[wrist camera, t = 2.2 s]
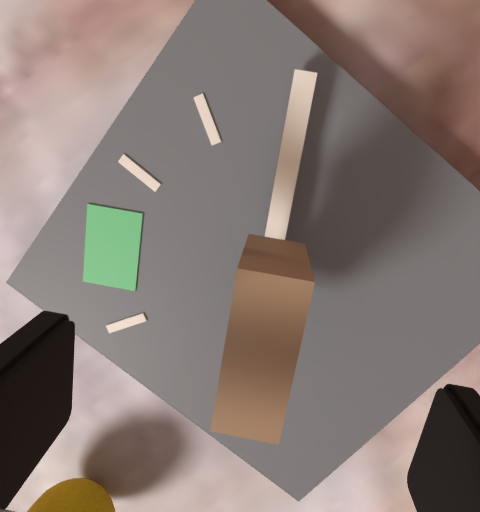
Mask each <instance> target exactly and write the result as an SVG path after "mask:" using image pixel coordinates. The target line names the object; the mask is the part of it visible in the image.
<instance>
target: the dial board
mask: <svg viewBox="0 0 480 512" xmlns="http://www.w3.org/2000/svg"><path fill="white" fill-rule="evenodd" d="M295 69H297V70H303V71H309V72H316V73H317V78H316V83H315V88H314V94H313V99H312V104H311V109H310V114H309V119H308V124H307V129H306V135H305V140H304V145H303V150H302V155H301V160H300V165H299V171H298V176H297V181H296V186H295V191H294V196H293V201H292V207H291V212H290V217H289V222H288V227H287V232H286V237H285V240H287V241H293V242H298V243H304V244H305V246H306V250H307V254H308V258H309V261H310V265H311V269H312V273H313V277H314V281H315V284H314V288H313V293H312V297H311V302H310V306H309V311H308V315H307V320H306V324H305V329H304V333H303V338H302V342H301V347H300V351H299V356H298V360H297V365H296V369H295V374H294V378H293V383H292V387H291V392H290V396H289V401H288V405H287V410H286V414H285V419H284V423H283V428H282V432H281V437H280V441H279V445H277V444H272V443H267V442H262V441H257V440H252V439H247V438H242V437H237V436H232V435H227V434H222V433H217V432H212V431H210V430H211V424H212V418H213V412H214V406H215V400H216V393H217V387H218V381H219V375H220V369H221V363H222V357H223V351H224V345H225V339H226V333H227V327H228V321H229V315H230V309H231V303H232V296H233V290H234V284H235V278H236V272H237V267H238V264H239V261H240V258H241V255H242V252H243V249H244V246H245V243H246V240H247V237H248V234H253V235H259V236H264V237H265V231H266V226H267V220H268V215H269V209H270V203H271V198H272V192H273V187H274V181H275V176H276V170H277V165H278V159H279V153H280V148H281V142H282V137H283V131H284V126H285V120H286V115H287V109H288V104H289V98H290V92H291V87H292V81H293V76H294V71H295ZM6 283H7V284H9V285H10V286H11V287H13V288H14V289H15V290H17V291H18V292H19V293H21V294H22V295H23V296H25V297H26V298H27V299H29V300H30V301H31V302H33V303H34V304H35V305H37V306H38V307H39V308H41V309H42V310H43V311H51V312H56V313H62V314H67V315H68V316H69V321H73V322H74V324H75V334H76V335H77V336H78V337H80V338H81V339H82V340H84V341H85V342H86V343H88V344H89V345H90V346H92V347H93V348H94V349H96V350H97V351H98V352H100V353H101V354H102V355H104V356H105V357H106V358H108V359H109V360H110V361H112V362H113V363H114V364H116V365H117V366H118V367H120V368H121V369H122V370H124V371H125V372H126V373H128V374H129V375H130V376H132V377H133V378H134V379H136V380H137V381H138V382H140V383H141V384H142V385H144V386H145V387H146V388H148V389H149V390H150V391H152V392H153V393H154V394H156V395H157V396H158V397H160V398H161V399H162V400H164V401H165V402H166V403H168V404H169V405H170V406H172V407H173V408H174V409H176V410H177V411H178V412H180V413H181V414H182V415H184V416H185V417H186V418H188V419H189V420H191V421H192V422H193V423H195V424H196V425H197V426H199V427H200V428H201V429H203V430H204V431H205V432H207V433H208V434H209V435H211V436H212V437H213V438H215V439H216V440H217V441H219V442H220V443H221V444H223V445H224V446H225V447H227V448H228V449H229V450H231V451H232V452H233V453H235V454H236V455H237V456H239V457H240V458H241V459H243V460H244V461H245V462H247V463H248V464H249V465H251V466H252V467H253V468H255V469H256V470H257V471H259V472H260V473H261V474H263V475H264V476H265V477H267V478H268V479H269V480H271V481H272V482H273V483H275V484H276V485H277V486H279V487H280V488H281V489H283V490H284V491H285V492H287V493H288V494H289V495H291V496H292V497H293V498H295V499H296V500H297V501H300V500H301V499H302V498H303V497H305V496H306V495H307V494H308V493H309V492H310V491H311V490H313V489H314V488H315V487H316V486H317V485H318V484H319V483H321V482H322V481H323V480H324V479H325V478H326V477H328V476H329V475H330V474H331V473H332V472H333V471H334V470H336V469H337V468H338V467H339V466H340V465H341V464H342V463H344V462H345V461H346V460H347V459H348V458H349V457H350V456H352V455H353V454H354V453H355V452H356V451H357V450H358V449H360V448H361V447H362V446H363V445H364V444H365V443H366V442H368V441H369V440H370V439H371V438H372V437H373V436H375V435H376V434H377V433H378V432H379V431H380V430H381V429H383V428H384V427H385V426H386V425H387V424H388V423H389V422H391V421H392V420H393V419H394V418H395V417H396V416H397V415H399V414H400V413H401V412H402V411H403V410H404V409H405V408H407V407H408V406H409V405H410V404H411V403H412V402H413V401H415V400H416V399H417V398H418V397H419V396H420V395H422V394H423V393H424V392H425V391H426V390H427V389H428V388H430V387H431V386H432V385H433V384H434V383H435V382H436V381H438V380H439V379H440V378H441V377H442V376H443V375H444V374H446V373H447V372H448V371H449V370H450V369H451V368H452V367H454V366H455V365H456V364H457V363H458V362H459V361H460V360H462V359H463V358H464V357H465V356H466V355H467V354H469V353H470V352H471V351H472V350H473V349H474V348H475V347H477V346H478V345H479V344H480V191H479V190H478V189H477V188H476V187H475V186H473V185H472V184H471V183H470V182H469V181H468V180H467V179H466V178H465V177H463V176H462V175H461V174H460V173H459V172H458V171H457V170H456V169H455V168H453V167H452V166H451V165H450V164H449V163H448V162H447V161H446V160H444V159H443V158H442V157H441V156H440V155H439V154H438V153H437V152H436V151H434V150H433V149H432V148H431V147H430V146H429V145H428V144H427V143H426V142H424V141H423V140H422V139H421V138H420V137H419V136H418V135H417V134H415V133H414V132H413V131H412V130H411V129H410V128H409V127H408V126H407V125H405V124H404V123H403V122H402V121H401V120H400V119H399V118H398V117H396V116H395V115H394V114H393V113H392V112H391V111H390V110H389V109H388V108H386V107H385V106H384V105H383V104H382V103H381V102H380V101H379V100H378V99H376V98H375V97H374V96H373V95H372V94H371V93H370V92H369V91H367V90H366V89H365V88H364V87H363V86H362V85H361V84H360V83H359V82H357V81H356V80H355V79H354V78H353V77H352V76H351V75H350V74H349V73H347V72H346V71H345V70H344V69H343V68H342V67H341V66H340V65H338V64H337V63H336V62H335V61H334V60H333V59H332V58H331V57H330V56H328V55H327V54H326V53H325V52H324V51H323V50H322V49H321V48H320V47H318V46H317V45H316V44H315V43H314V42H313V41H312V40H311V39H309V38H308V37H307V36H306V35H305V34H304V33H303V32H302V31H301V30H299V29H298V28H297V27H296V26H295V25H294V24H293V23H292V22H291V21H289V20H288V19H287V18H286V17H285V16H284V15H283V14H282V13H280V12H279V11H278V10H277V9H276V8H275V7H274V6H273V5H272V4H270V3H269V2H268V1H267V0H195V2H194V3H193V5H192V6H191V8H190V9H189V11H188V12H187V14H186V15H185V17H184V18H183V19H182V21H181V22H180V24H179V25H178V27H177V28H176V30H175V31H174V33H173V34H172V36H171V37H170V39H169V40H168V42H167V43H166V45H165V46H164V48H163V49H162V51H161V52H160V54H159V55H158V57H157V58H156V60H155V61H154V63H153V64H152V66H151V67H150V69H149V70H148V72H147V73H146V75H145V76H144V78H143V79H142V81H141V82H140V84H139V85H138V87H137V88H136V90H135V91H134V93H133V94H132V96H131V97H130V99H129V100H128V102H127V103H126V104H125V106H124V107H123V109H122V110H121V112H120V113H119V115H118V116H117V118H116V119H115V121H114V122H113V124H112V125H111V127H110V128H109V130H108V131H107V133H106V134H105V136H104V137H103V139H102V140H101V142H100V143H99V145H98V146H97V148H96V149H95V151H94V152H93V154H92V155H91V157H90V158H89V160H88V161H87V163H86V164H85V166H84V167H83V169H82V170H81V172H80V173H79V175H78V176H77V178H76V179H75V181H74V182H73V184H72V185H71V187H70V188H69V189H68V191H67V192H66V194H65V195H64V197H63V198H62V200H61V201H60V203H59V204H58V206H57V207H56V209H55V210H54V212H53V213H52V215H51V216H50V218H49V219H48V221H47V222H46V224H45V225H44V227H43V228H42V230H41V231H40V233H39V234H38V236H37V237H36V239H35V240H34V242H33V243H32V245H31V246H30V248H29V249H28V251H27V252H26V254H25V255H24V257H23V258H22V260H21V261H20V263H19V264H18V266H17V267H16V269H15V270H14V272H13V273H12V275H11V276H10V277H9V279H8V280H7V282H6Z"/></svg>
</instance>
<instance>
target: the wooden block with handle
mask: <svg viewBox="0 0 480 512" xmlns="http://www.w3.org/2000/svg"><path fill="white" fill-rule="evenodd" d="M316 78H317V73H316V72H309V71H303V70H297V69H295V71H294V76H293V81H292V87H291V92H290V98H289V104H288V109H287V115H286V120H285V126H284V131H283V137H282V142H281V148H280V153H279V159H278V165H277V170H276V176H275V181H274V187H273V192H272V198H271V203H270V209H269V215H268V220H267V226H266V231H265V237H264V236H259V235H253V234H248V237H247V240H246V243H245V246H244V249H243V252H242V255H241V258H240V261H239V264H238V267H237V272H236V278H235V284H234V290H233V296H232V303H231V309H230V315H229V321H228V327H227V333H226V339H225V345H224V351H223V357H222V363H221V369H220V375H219V381H218V387H217V393H216V400H215V406H214V412H213V418H212V424H211V430H210V431H212V432H217V433H222V434H227V435H232V436H237V437H242V438H247V439H252V440H257V441H262V442H267V443H272V444H277V445H279V441H280V437H281V432H282V428H283V423H284V419H285V414H286V410H287V405H288V401H289V396H290V392H291V387H292V383H293V378H294V374H295V369H296V365H297V360H298V356H299V351H300V347H301V342H302V338H303V333H304V329H305V324H306V320H307V315H308V311H309V306H310V302H311V297H312V293H313V288H314V284H315V281H314V277H313V273H312V269H311V265H310V261H309V258H308V254H307V250H306V246H305V244H304V243H298V242H293V241H287V240H285V237H286V232H287V227H288V222H289V217H290V212H291V207H292V201H293V196H294V191H295V186H296V181H297V176H298V171H299V165H300V160H301V155H302V150H303V145H304V140H305V135H306V129H307V124H308V119H309V114H310V109H311V104H312V99H313V94H314V88H315V83H316Z"/></svg>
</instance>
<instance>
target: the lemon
mask: <svg viewBox="0 0 480 512" xmlns="http://www.w3.org/2000/svg"><path fill="white" fill-rule="evenodd" d="M27 512H115V508H114V505H113V502H112V499H111V497H110V496H109V494H108V492H107V491H106V490H105V489H104V488H103V487H102V486H101V485H99V484H98V483H96V482H94V481H92V480H89V479H84V478H76V479H70V480H66V481H63V482H60V483H58V484H57V485H55V486H53V487H51V488H50V489H48V490H47V491H46V492H45V493H43V494H42V496H41V497H40V498H39V499H38V500H37V501H36V502H35V503H34V504H33V505H32V506H31V507H30V509H29V510H28V511H27Z"/></svg>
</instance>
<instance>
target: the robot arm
mask: <svg viewBox="0 0 480 512" xmlns="http://www.w3.org/2000/svg"><path fill="white" fill-rule="evenodd" d="M74 340H75V324H74V322H73V321H69V316H68V315H67V314H62V313H56V312H51V311H43V312H41V313H40V314H39V315H37V316H36V317H35V318H33V319H32V320H31V321H29V322H28V323H27V324H26V325H24V326H23V327H22V328H20V329H19V330H18V331H16V332H15V333H14V334H13V335H11V336H10V337H9V338H7V339H6V340H5V341H4V342H2V343H1V344H0V512H15V511H9V510H5V509H6V508H7V506H8V505H9V503H10V502H11V501H12V499H13V498H14V496H15V495H16V494H17V492H18V491H19V489H20V488H21V487H22V485H23V484H24V482H25V481H26V480H27V478H28V477H29V475H30V474H31V473H32V471H33V470H34V468H35V467H36V466H37V464H38V463H39V461H40V460H41V459H42V457H43V456H44V454H45V453H46V452H47V450H48V449H49V447H50V446H51V445H52V443H53V442H54V440H55V439H56V438H57V436H58V435H59V433H60V432H61V431H62V429H63V428H64V426H65V425H66V423H67V422H68V420H69V417H70V414H71V409H72V389H73V364H74ZM407 483H408V488H409V491H410V494H411V497H412V500H413V502H414V505H415V508H416V510H417V512H480V396H479V394H478V393H477V392H476V391H475V390H474V389H473V388H469V387H463V386H458V385H452V384H447V385H446V386H445V387H444V389H442V388H440V389H438V390H437V392H436V394H435V397H434V400H433V402H432V405H431V408H430V411H429V414H428V417H427V420H426V422H425V425H424V428H423V431H422V434H421V437H420V440H419V442H418V445H417V448H416V451H415V454H414V457H413V460H412V462H411V465H410V468H409V471H408V476H407Z"/></svg>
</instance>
